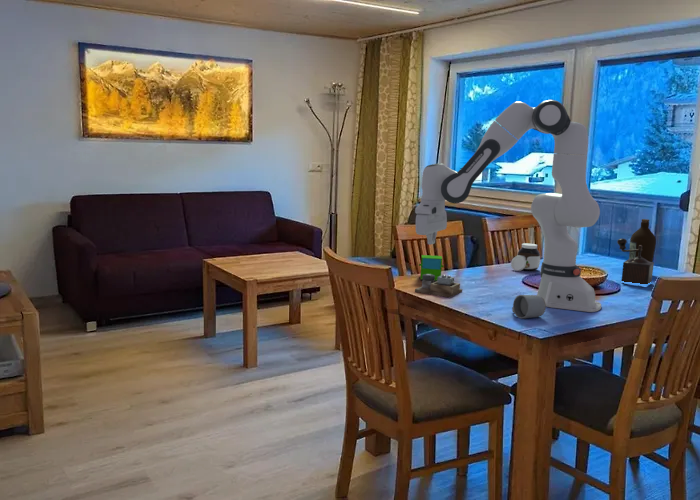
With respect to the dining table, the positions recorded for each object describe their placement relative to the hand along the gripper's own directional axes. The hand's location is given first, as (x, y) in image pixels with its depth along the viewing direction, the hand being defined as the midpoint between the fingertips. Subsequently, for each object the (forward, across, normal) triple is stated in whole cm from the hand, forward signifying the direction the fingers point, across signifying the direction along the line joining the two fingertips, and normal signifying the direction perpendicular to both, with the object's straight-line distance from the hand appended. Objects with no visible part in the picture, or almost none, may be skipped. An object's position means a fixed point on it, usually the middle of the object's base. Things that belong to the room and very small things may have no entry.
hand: (431, 244), depth 239 cm
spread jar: (+20, -65, +17) cm, 70 cm away
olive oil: (+21, -94, +61) cm, 113 cm away
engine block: (+17, +1, +7) cm, 18 cm away
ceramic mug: (+18, +14, +41) cm, 47 cm away
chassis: (+18, +1, +4) cm, 18 cm away
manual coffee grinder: (+20, -70, +60) cm, 95 cm away
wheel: (+17, +1, 0) cm, 17 cm away
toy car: (+18, -18, -8) cm, 27 cm away
